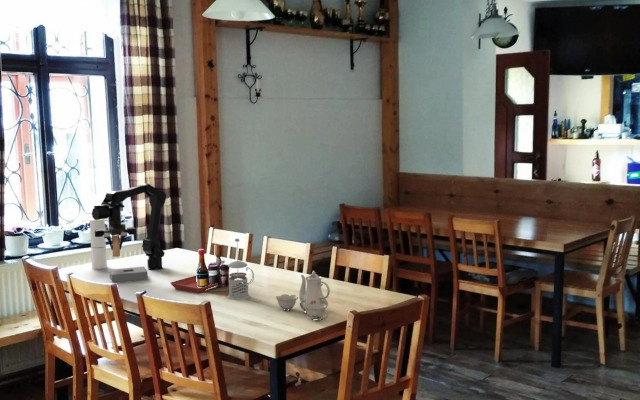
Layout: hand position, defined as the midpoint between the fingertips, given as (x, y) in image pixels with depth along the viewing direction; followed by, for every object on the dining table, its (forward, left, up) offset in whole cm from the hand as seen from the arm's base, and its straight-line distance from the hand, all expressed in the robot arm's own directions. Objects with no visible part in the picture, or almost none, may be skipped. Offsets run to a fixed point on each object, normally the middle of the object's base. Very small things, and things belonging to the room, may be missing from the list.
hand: (116, 249), depth 322 cm
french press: (-44, +61, -13) cm, 76 cm away
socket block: (-4, +8, -13) cm, 16 cm away
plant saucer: (-31, +38, -14) cm, 51 cm away
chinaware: (-62, +95, -13) cm, 114 cm away
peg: (0, 0, -3) cm, 3 cm away
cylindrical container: (+7, -24, -13) cm, 28 cm away
